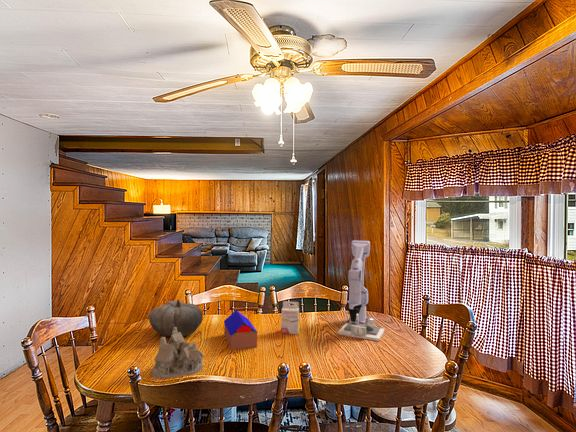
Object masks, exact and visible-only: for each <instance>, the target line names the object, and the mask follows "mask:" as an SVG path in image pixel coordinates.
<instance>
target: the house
mask: <svg viewBox="0 0 576 432" xmlns="http://www.w3.org/2000/svg"><path fill="white" fill-rule="evenodd" d="M223 323H224V327H223V328H224V329H223V333H224V337H225V339H226V341H227V342H226V343H227V344H228V346H229V349H230V350H231V351H236V350H245V349H253V348H257V347H258V331H257V329H256V328H255V327H254V325H253V324H252V323H251V321H250V319H249V318H248V317H246V316H245V315H243V314H242V313H241V312H239V311H238V310H237V309H236V310H234V311H233V312H232V313H231V314H230V315H228V317H227V318H226V319H224V321H223Z"/></svg>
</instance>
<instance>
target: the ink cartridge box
mask: <svg viewBox="0 0 576 432" xmlns="http://www.w3.org/2000/svg"><path fill="white" fill-rule="evenodd" d="M299 306H300V303H299V302H298V301H287V300H285V301H282V308H281V313H280V314H281V316H280V317H281V319H280V320H281V321H280V334H289V335H290V334H291V335H298V334H299V329H300V327H299V324H300V323H299V322H300V307H299Z"/></svg>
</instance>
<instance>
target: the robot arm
mask: <svg viewBox="0 0 576 432" xmlns="http://www.w3.org/2000/svg"><path fill="white" fill-rule="evenodd" d="M370 251H371V242H370V241H369V240H355V239H353V240H352V241H351V253H352V256H353V257H354V258H353V259H352V260H351V266H350V269H349V270H348V274H347V278H348V285H349V287H348V294H349V295H348V296H349V297H348V299H349V300H347V301H346V303H348V306H347V308H346V309H347V312H348V313H349V320H350V319H351V321H353V322H355V321H356V316H357V313H359V324H364V323H365V318H368V317H367V305H368V304H369V290H368V289H367V288H366V287H365V286H364V284H365V283H364V282H365V264H366V258H368V257H370Z"/></svg>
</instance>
